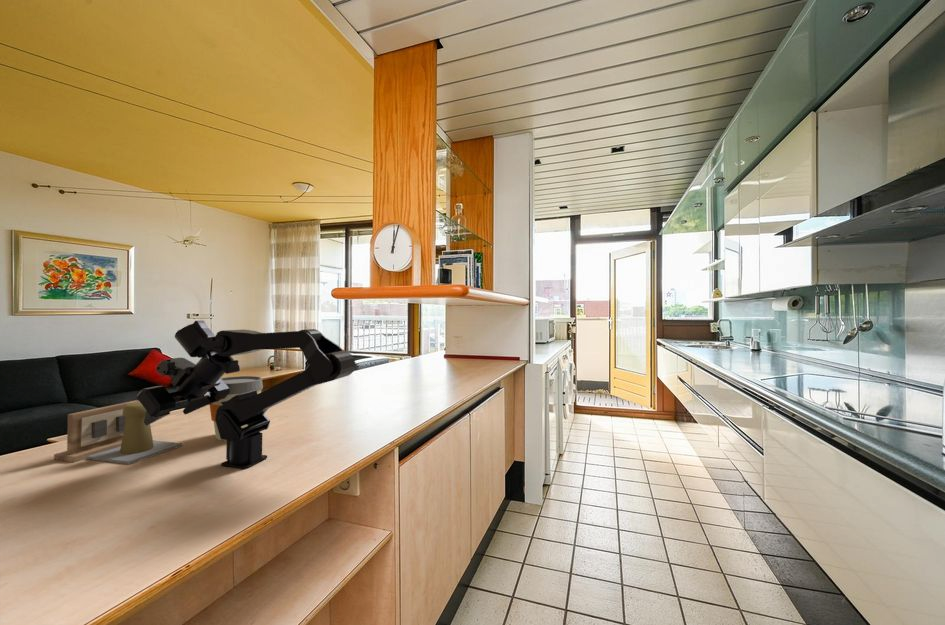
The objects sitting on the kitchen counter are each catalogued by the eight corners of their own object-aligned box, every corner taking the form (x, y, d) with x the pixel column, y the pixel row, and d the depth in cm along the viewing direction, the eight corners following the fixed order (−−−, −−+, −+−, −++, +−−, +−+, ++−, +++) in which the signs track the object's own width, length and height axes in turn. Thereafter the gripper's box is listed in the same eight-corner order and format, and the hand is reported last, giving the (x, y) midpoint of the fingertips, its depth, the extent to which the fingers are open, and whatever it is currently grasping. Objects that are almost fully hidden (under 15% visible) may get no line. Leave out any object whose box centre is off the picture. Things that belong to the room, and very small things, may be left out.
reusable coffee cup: (272, 431, 106) (273, 378, 106) (227, 445, 94) (228, 385, 94) (242, 425, 111) (243, 374, 111) (196, 438, 99) (197, 381, 99)
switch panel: (150, 438, 98) (151, 400, 98) (74, 462, 83) (75, 416, 83) (132, 437, 100) (133, 399, 100) (53, 459, 84) (54, 414, 84)
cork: (128, 455, 85) (129, 407, 85) (114, 451, 88) (114, 404, 88) (159, 447, 91) (160, 401, 91) (145, 443, 93) (145, 399, 93)
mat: (182, 445, 94) (182, 443, 94) (129, 464, 82) (129, 461, 82) (143, 441, 96) (143, 439, 96) (87, 459, 85) (87, 456, 85)
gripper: (220, 343, 96) (182, 385, 98) (144, 350, 78) (100, 401, 80) (247, 375, 95) (208, 417, 97) (176, 390, 76) (130, 441, 78)
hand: (166, 418), depth 88 cm, fingers open, 9 cm apart
